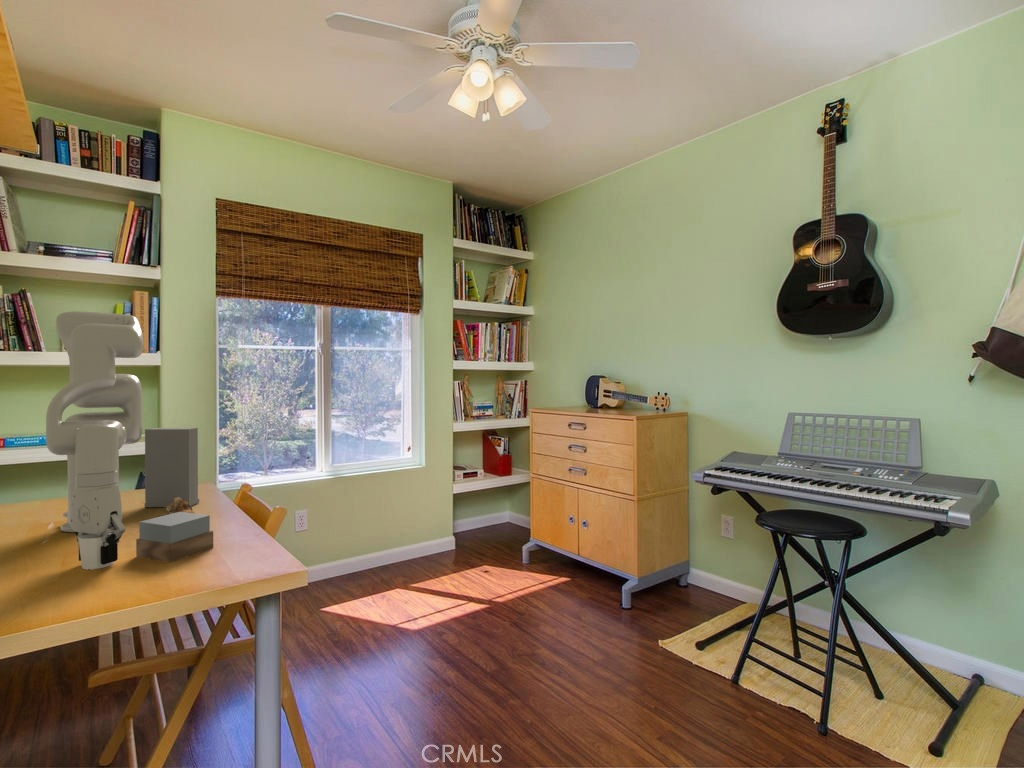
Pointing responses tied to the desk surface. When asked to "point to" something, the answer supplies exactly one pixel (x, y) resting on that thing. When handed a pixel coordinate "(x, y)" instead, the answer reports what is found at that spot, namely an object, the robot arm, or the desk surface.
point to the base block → (174, 547)
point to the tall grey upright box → (171, 466)
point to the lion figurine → (179, 506)
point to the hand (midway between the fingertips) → (98, 559)
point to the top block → (174, 527)
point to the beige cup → (91, 551)
